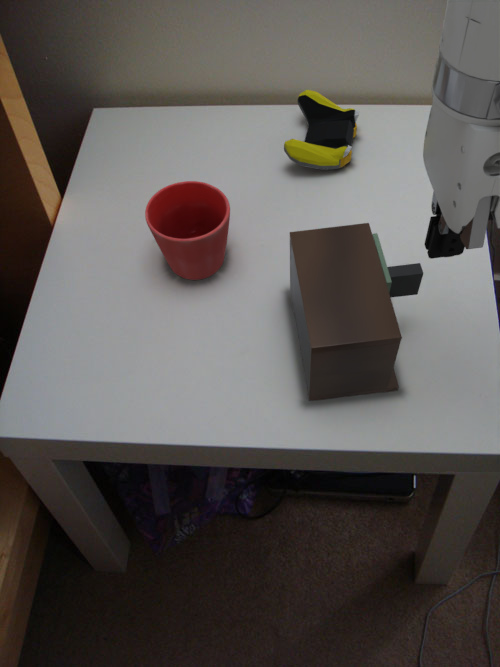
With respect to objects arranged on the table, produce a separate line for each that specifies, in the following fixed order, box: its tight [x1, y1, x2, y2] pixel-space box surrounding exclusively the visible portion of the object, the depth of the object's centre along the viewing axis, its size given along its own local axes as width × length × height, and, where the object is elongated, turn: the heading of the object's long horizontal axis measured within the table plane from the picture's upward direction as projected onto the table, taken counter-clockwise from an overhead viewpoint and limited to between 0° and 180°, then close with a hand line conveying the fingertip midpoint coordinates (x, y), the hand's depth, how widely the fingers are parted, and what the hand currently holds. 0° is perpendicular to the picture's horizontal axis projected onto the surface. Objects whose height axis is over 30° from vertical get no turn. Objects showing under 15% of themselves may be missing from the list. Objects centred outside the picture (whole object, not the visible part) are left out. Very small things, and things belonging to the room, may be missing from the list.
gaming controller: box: [283, 89, 360, 171], centre depth 93 cm, size 15×6×10 cm
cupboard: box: [289, 222, 403, 402], centre depth 70 cm, size 11×16×12 cm, turn 6°
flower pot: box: [144, 180, 231, 281], centre depth 80 cm, size 11×11×10 cm
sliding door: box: [372, 232, 424, 299], centre depth 72 cm, size 5×7×9 cm, turn 6°
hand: (443, 250), depth 56 cm, fingers closed
